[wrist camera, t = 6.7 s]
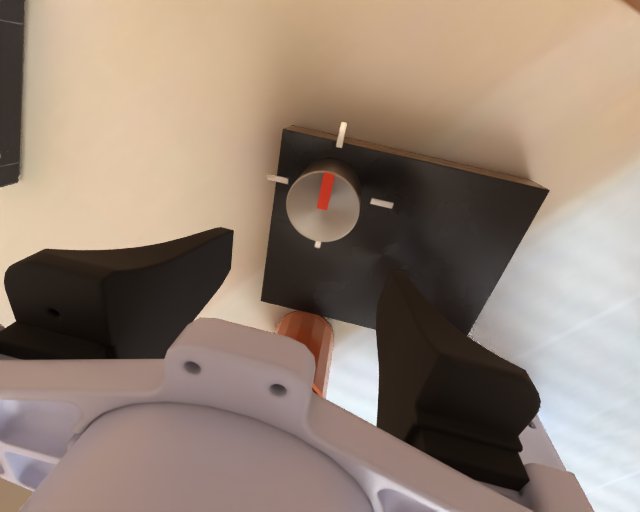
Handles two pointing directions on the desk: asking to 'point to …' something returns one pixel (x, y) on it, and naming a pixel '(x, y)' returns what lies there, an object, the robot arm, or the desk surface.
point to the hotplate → (397, 231)
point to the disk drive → (11, 89)
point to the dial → (325, 200)
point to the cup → (311, 343)
